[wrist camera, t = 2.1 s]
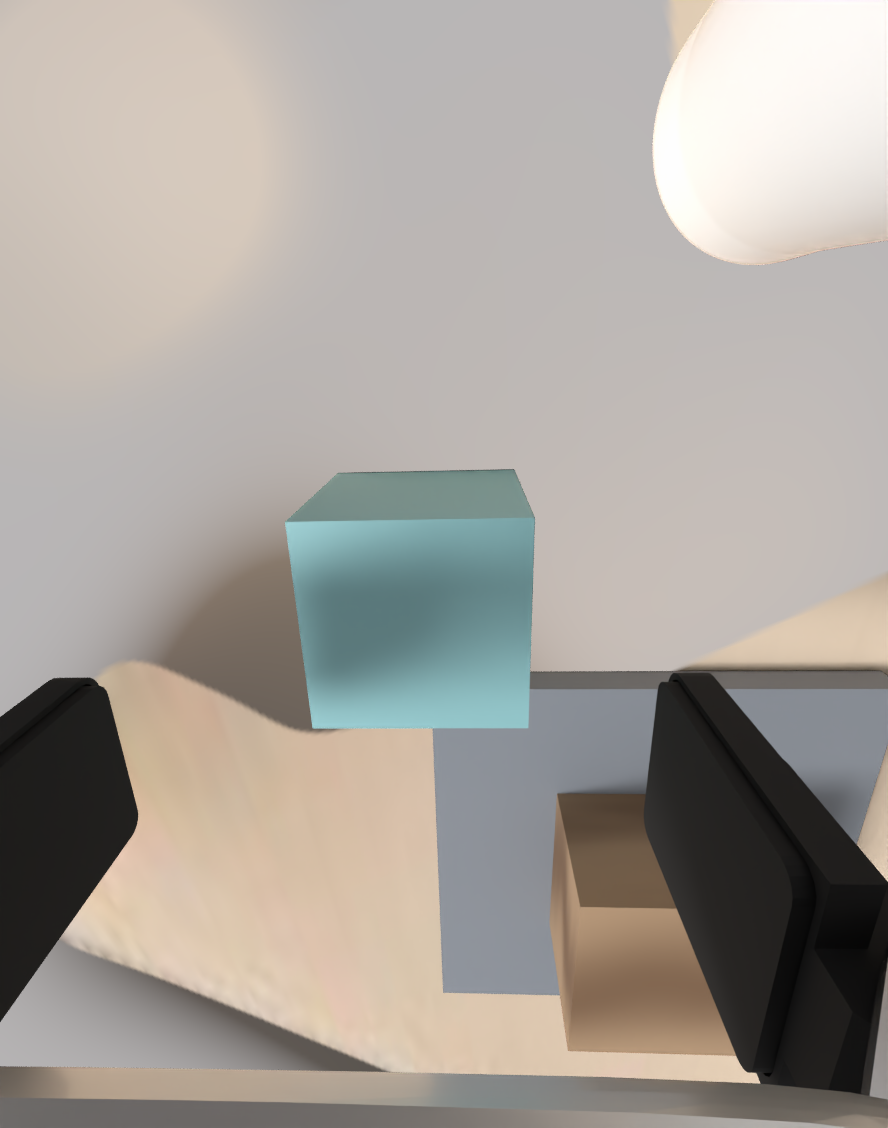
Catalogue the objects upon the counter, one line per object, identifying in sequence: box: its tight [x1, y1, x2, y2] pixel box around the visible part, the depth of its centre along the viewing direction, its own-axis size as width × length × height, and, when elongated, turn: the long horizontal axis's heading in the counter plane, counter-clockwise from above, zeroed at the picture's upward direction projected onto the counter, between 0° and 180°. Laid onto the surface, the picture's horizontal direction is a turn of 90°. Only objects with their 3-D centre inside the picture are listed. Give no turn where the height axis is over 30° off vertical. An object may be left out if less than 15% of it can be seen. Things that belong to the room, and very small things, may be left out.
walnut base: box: [549, 794, 736, 1056], centre depth 17 cm, size 6×6×4 cm
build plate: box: [433, 671, 888, 995], centre depth 20 cm, size 14×14×1 cm
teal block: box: [285, 469, 535, 728], centre depth 14 cm, size 5×5×5 cm
